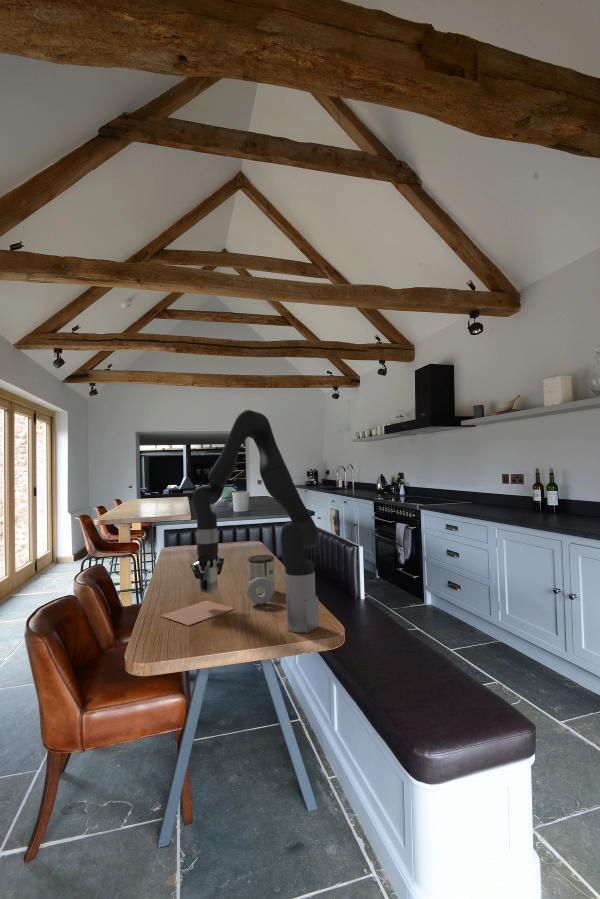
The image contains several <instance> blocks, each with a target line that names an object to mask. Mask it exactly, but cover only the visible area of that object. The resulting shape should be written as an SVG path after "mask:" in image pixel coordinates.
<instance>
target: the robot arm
mask: <svg viewBox="0 0 600 899" xmlns="http://www.w3.org/2000/svg"><path fill="white" fill-rule="evenodd" d="M247 438H250V439H252V440H253V442H254V444H255V445H256V448H257V450H258V452H259V453H258V454H259V475H260V478H261V480H262V482H263V484H264V486H265V487H264V488H265V489H266V491H267V493H268V494H269V495H270V496H271V497H272V498H273V500H274V501H276V502H277V503H278V504H279V505H280V506H281V507H282V508H283V509H284V510H285V512H286V513H287V515H288V517H289V518H290V521H289V522H287V523H285V524H284V525H283V526H282V528H281V532H280V545H281V558H282V559H281V560H282V563H283V566H284V571H285V572H284V574H285V602H286V603H285V608H286V610H285V611H286V627H287V628H286V629H287V630H288V631H290V632H293V633H304V632H305V634H308V633H310V632H312V631H314V630H316V629H318V628H320V620H319V619H320V616H319V597H318V595H317V596H316V580H315V578H316V577H315V576H316V575H315V562H313V561H312V560H309V559H306V554H305V550H307V549H311V548H314V547H315V546H317V544H318V541H319V531H318V527H317V525H316V523H315V522H314V519H313V518H312V516H311V514H310V512H309V510H308V509H307V508H306V506H305V504H304V502H303V500H302V498H301V496H300V493H299V492H298V489H297V487H296V485H295V483H294V481H293V479H292V478H293V477H292V476H291V473H290V471H289V469H288V466H287V465H286V463H285V460H284V458H283V456H282V454H281V451H280V449H279V446H278V444H277V442H276V439H275V436H274V433H273V430H272V426H271V424H270V421H269V419H268V418H267V416H266V415H264V414H263V413H261V412H257V411H254V410H251V409H244V410H242V411H241V412H240V413H239V414H238V415H237V416H236V418H235V421H234V423H233V425H232V427H231V429H230V432H229V434H228V436H227V439H226V442H225V444H224V447H223V449H222V451H221V453H220V455H219V457H218V458H217V460H216V461H215V463H214V465H213V466H212V467H211V470H210V471H209V473H208V475H207V478H208V481H209V482H208V483H207V485H203V486H197V487H195V489H194V491H193V494H192V504H193V508H194V512H195V515H196V525H197V527H196V528H197V529H196V552H197V553H196V554H197V560H196V562H194V563H191V564H190V567H191V570H192V572H193V575H194V577H195V579H196V580H199V582H200V581H201V589H202V590H204V591H206V590H207V580H206V579H207V573H208V571H207V569H208V568H209V567H217V576H218V575H221V574H222V570H223V566H224V562H225V558H224V557H219V556H218V553H219V533H218V518H217V514H216V512H214V511H212V508H211V506H212V505H215V504H216V503H217V502H218V501H219V500H220V499H221V497H222V494H223V492H224V490H225V486H226V484H227V482H228V481H229V479H230V478H231V476H232V474H233V473H234V471H235V469H236V467H237V463H238V456H239V451H240V448H241V447H242V444H243V443H244V442H245V440H246V439H247ZM199 568H200V569H199ZM202 569H203V570H205V571H203V570H202ZM203 573H204V575H203Z"/></svg>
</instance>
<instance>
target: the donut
mask: <svg viewBox="0 0 600 899" xmlns="http://www.w3.org/2000/svg"><path fill="white" fill-rule="evenodd" d="M258 587H263V588H264V589H265V592H264V594H262V595H257V594H256V589H257V588H258ZM273 592H274V588H273V585H272V583H271V582H270V581H269V580H268V579H266V578H264V577H258V578H255V579H253V580H252V581H251V582H250V583H248V585H247V587H246V596H247V598H248V600H249V601H250V602H251V603H252V604H254V605H265V604H267V603H269V601H271V600H272V598H273V596H274V594H273Z"/></svg>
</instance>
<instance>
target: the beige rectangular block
mask: <svg viewBox="0 0 600 899" xmlns="http://www.w3.org/2000/svg"><path fill="white" fill-rule="evenodd" d="M199 570H200V568H199ZM202 570H203V569H202ZM203 571H205V570H203ZM207 571H208V573H207V579H206V580H207V590H206V591H204V590H202V589H201V581H200V580H199V591H200V593H201V592H202V593H205V594H209V595H213V594H216V593H218V590H219V589H218V575H217V567H209V568H208V569H207ZM203 575H204V573H203Z"/></svg>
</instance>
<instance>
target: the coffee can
mask: <svg viewBox="0 0 600 899" xmlns="http://www.w3.org/2000/svg"><path fill="white" fill-rule="evenodd" d="M274 559H275V557H274V555H271V554H258V555H253V556H249V557H248V560H247V561H248V578H249V579H248V580H249V583H250V582H251V581H252V580H253V579H255V578H258V577H264V578H266V579H268V580H269V581H270V582H271V583H272V585H273V588H274V592H273V595H274V594H275V593H276V586H275V564H274ZM249 583H248V584H249ZM264 592H265V589H264V588H263V587H258V588H257V589H256V594H257V595H262V594H264Z"/></svg>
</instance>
